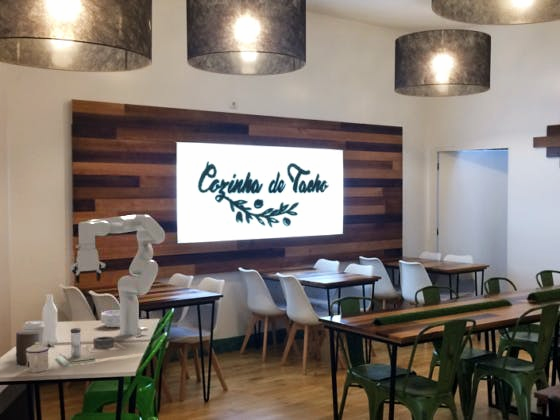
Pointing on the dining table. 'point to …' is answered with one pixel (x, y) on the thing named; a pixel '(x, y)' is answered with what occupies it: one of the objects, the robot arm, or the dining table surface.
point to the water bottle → (49, 321)
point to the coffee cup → (36, 328)
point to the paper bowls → (111, 318)
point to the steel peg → (75, 343)
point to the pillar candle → (25, 344)
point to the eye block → (103, 344)
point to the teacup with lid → (37, 358)
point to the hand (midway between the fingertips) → (88, 282)
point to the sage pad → (65, 361)
